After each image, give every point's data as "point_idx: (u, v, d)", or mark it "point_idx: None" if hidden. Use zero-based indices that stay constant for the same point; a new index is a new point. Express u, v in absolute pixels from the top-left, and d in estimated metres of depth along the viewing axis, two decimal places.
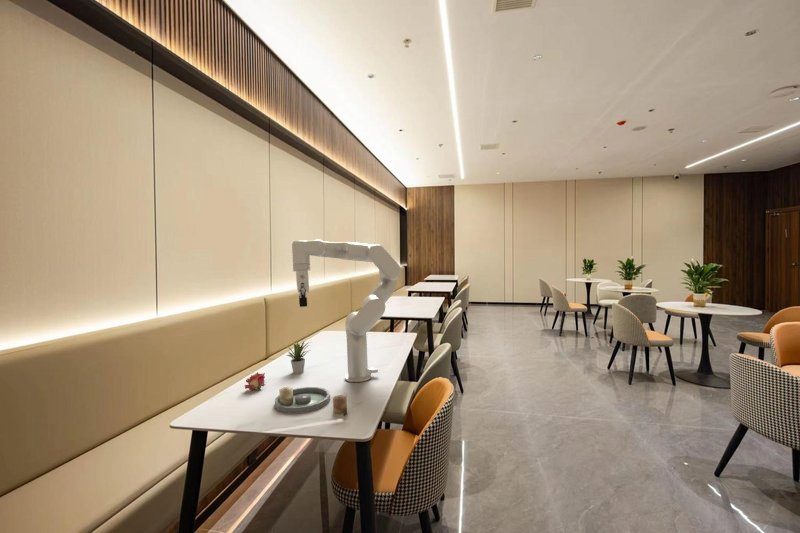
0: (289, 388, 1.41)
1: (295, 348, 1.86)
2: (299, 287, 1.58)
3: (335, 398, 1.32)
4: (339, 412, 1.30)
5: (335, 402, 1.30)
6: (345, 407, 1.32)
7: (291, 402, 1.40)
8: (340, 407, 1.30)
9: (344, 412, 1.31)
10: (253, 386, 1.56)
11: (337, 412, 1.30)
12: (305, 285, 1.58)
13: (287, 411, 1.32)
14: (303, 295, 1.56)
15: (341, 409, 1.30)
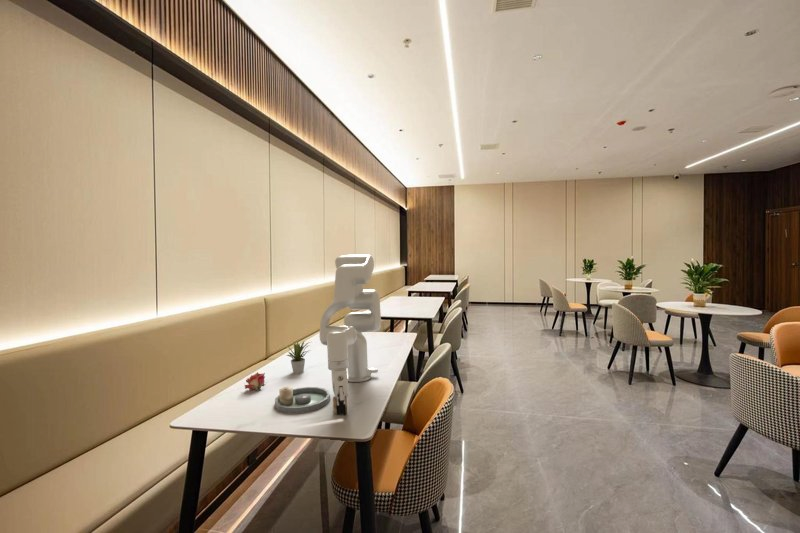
0: (289, 388, 1.41)
1: (295, 348, 1.86)
2: (337, 391, 1.27)
3: (335, 398, 1.32)
4: None
5: (335, 402, 1.30)
6: (345, 407, 1.32)
7: (291, 402, 1.40)
8: None
9: None
10: (253, 386, 1.56)
11: None
12: (344, 392, 1.28)
13: (287, 411, 1.32)
14: (341, 403, 1.28)
15: None
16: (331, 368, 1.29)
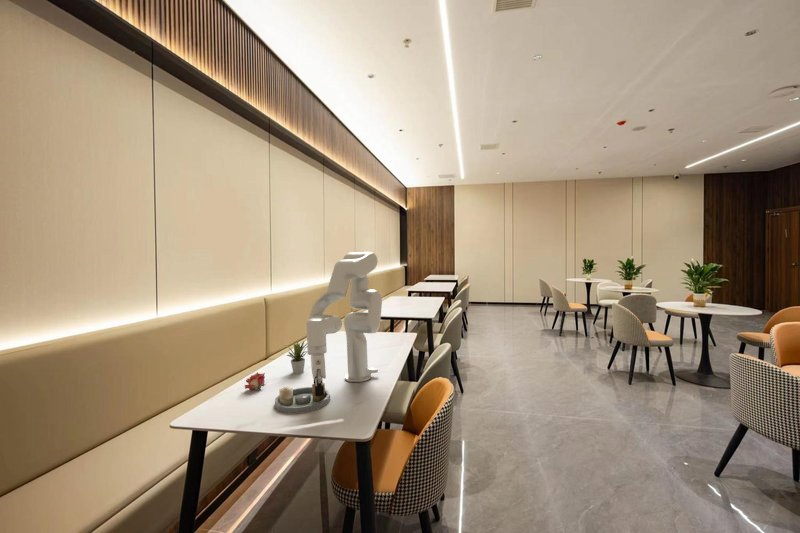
0: (289, 388, 1.41)
1: (295, 348, 1.86)
2: (315, 374, 1.39)
3: (314, 385, 1.43)
4: (318, 398, 1.42)
5: (314, 388, 1.42)
6: None
7: (291, 402, 1.40)
8: None
9: (322, 398, 1.43)
10: (253, 386, 1.56)
11: (315, 398, 1.42)
12: (321, 371, 1.39)
13: (287, 411, 1.32)
14: (319, 384, 1.37)
15: None
16: (310, 353, 1.41)
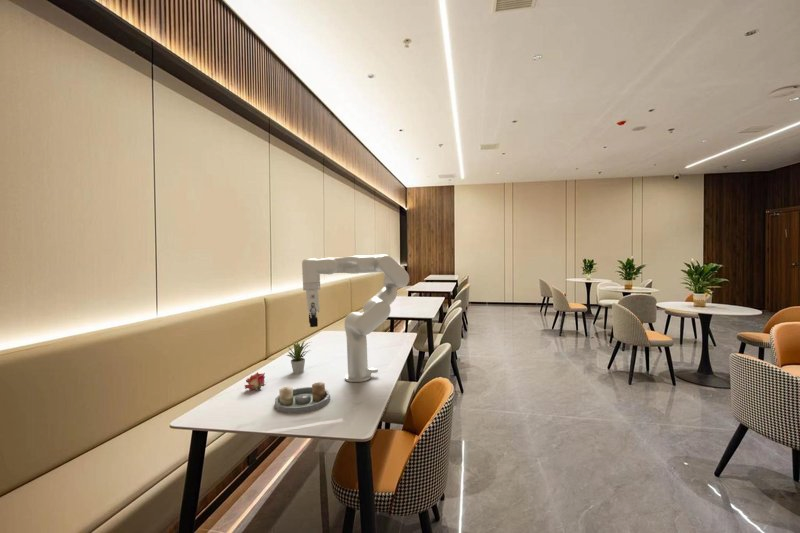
0: (289, 388, 1.41)
1: (295, 348, 1.86)
2: (309, 307, 1.54)
3: (314, 385, 1.43)
4: (318, 398, 1.42)
5: (314, 388, 1.42)
6: (323, 393, 1.43)
7: (291, 402, 1.40)
8: (318, 393, 1.42)
9: (322, 398, 1.43)
10: (253, 386, 1.56)
11: (315, 398, 1.42)
12: (315, 305, 1.55)
13: (287, 411, 1.32)
14: (314, 315, 1.53)
15: (319, 395, 1.42)
16: (305, 289, 1.56)
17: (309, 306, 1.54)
